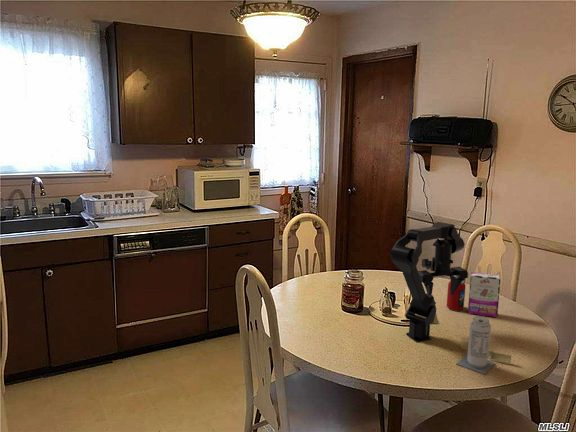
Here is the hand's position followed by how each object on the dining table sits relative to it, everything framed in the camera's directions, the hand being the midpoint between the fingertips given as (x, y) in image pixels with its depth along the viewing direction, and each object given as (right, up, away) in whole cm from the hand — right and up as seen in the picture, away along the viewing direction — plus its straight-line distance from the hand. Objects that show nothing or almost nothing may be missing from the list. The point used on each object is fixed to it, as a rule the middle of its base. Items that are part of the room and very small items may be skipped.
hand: (440, 296), depth 178 cm
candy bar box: (+22, -10, +15) cm, 28 cm away
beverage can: (+12, -9, +20) cm, 25 cm away
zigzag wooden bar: (+8, -16, -20) cm, 27 cm away
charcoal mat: (+3, -18, -25) cm, 31 cm away
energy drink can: (+3, -17, -26) cm, 31 cm away
